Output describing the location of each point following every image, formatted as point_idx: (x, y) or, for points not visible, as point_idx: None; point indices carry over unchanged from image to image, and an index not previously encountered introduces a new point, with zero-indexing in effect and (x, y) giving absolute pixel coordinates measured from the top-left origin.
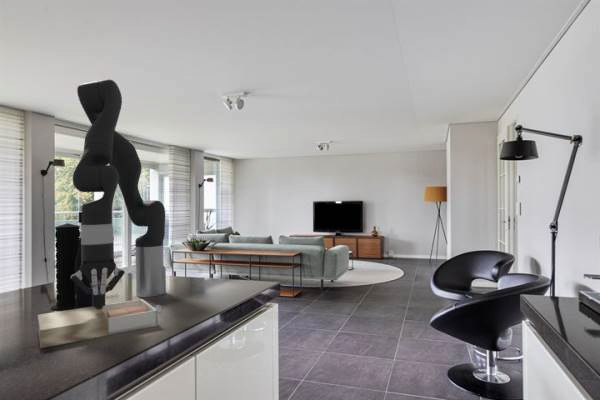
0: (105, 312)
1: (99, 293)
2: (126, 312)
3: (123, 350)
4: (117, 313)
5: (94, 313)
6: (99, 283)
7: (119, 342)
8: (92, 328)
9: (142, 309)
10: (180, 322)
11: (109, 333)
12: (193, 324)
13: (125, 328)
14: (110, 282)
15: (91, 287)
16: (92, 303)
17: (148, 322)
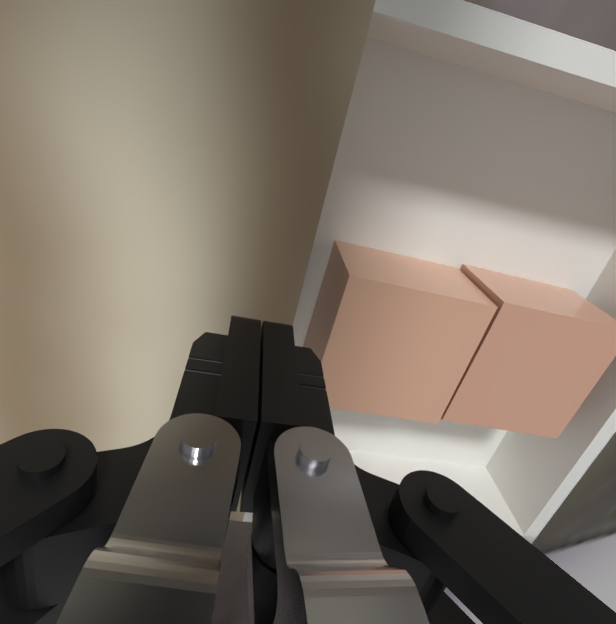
0: (422, 45)
1: (262, 470)
2: (423, 421)
3: (220, 607)
4: (364, 410)
5: (214, 329)
6: (280, 612)
7: (244, 543)
8: None
9: (532, 432)
10: (576, 490)
11: None
12: (572, 541)
13: None
14: (489, 614)
15: (122, 533)
16: (189, 359)
17: None
